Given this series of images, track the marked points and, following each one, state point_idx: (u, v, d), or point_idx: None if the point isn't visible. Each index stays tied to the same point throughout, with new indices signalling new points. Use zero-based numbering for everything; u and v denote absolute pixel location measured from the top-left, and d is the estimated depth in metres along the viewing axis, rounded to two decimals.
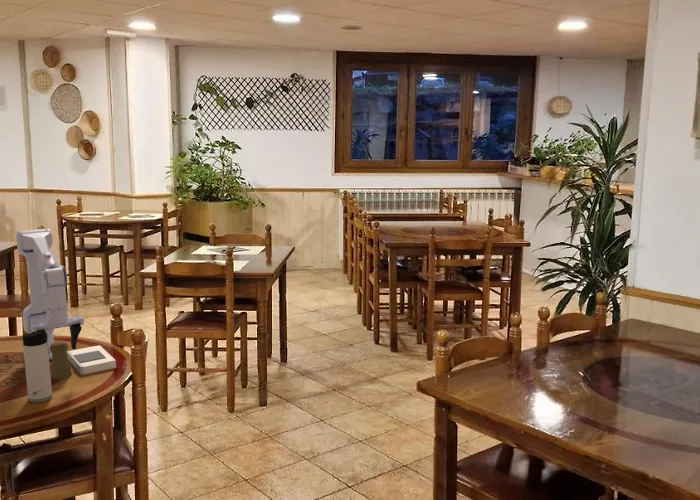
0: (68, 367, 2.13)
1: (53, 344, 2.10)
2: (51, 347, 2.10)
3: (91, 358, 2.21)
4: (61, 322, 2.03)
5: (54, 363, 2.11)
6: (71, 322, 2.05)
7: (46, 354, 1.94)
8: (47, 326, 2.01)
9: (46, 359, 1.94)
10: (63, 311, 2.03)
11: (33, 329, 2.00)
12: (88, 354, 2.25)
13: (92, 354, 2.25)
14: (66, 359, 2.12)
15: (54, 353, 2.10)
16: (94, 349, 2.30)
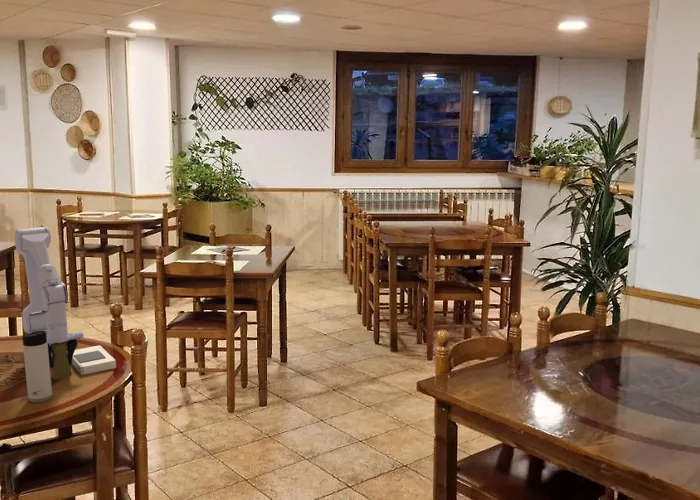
0: (68, 367, 2.13)
1: (53, 344, 2.10)
2: (51, 347, 2.10)
3: (91, 358, 2.21)
4: (61, 337, 2.09)
5: (54, 363, 2.11)
6: (71, 337, 2.12)
7: (46, 354, 1.94)
8: (48, 341, 2.08)
9: (46, 359, 1.94)
10: (63, 327, 2.10)
11: None
12: (88, 354, 2.25)
13: (92, 354, 2.25)
14: (66, 359, 2.12)
15: (54, 353, 2.10)
16: (94, 349, 2.30)
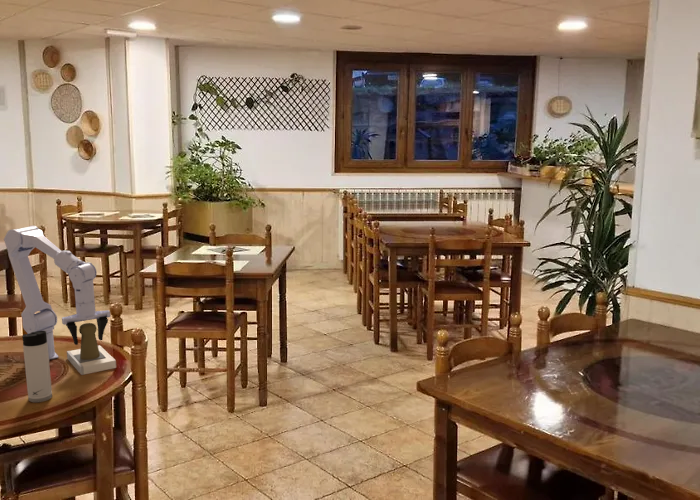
0: (96, 348, 2.22)
1: (82, 326, 2.19)
2: (80, 329, 2.19)
3: None
4: (89, 315, 2.18)
5: (83, 344, 2.20)
6: (98, 315, 2.21)
7: (46, 354, 1.94)
8: (77, 318, 2.17)
9: (46, 359, 1.94)
10: (91, 304, 2.18)
11: (64, 321, 2.16)
12: None
13: None
14: (95, 340, 2.21)
15: (83, 334, 2.19)
16: None
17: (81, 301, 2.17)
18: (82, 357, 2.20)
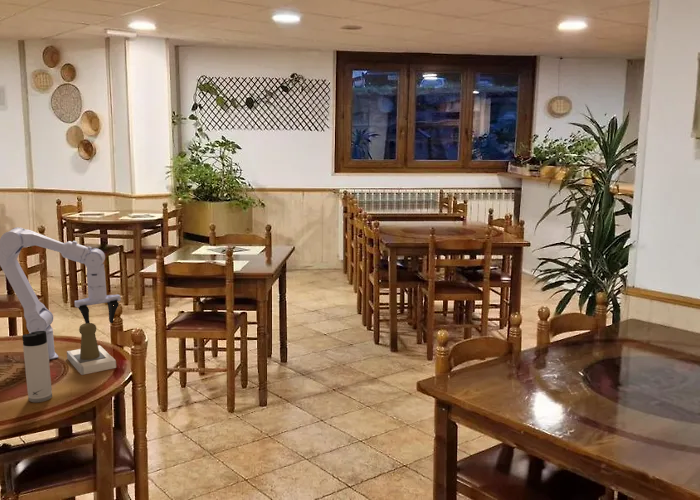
0: (96, 348, 2.22)
1: (82, 326, 2.19)
2: (80, 329, 2.19)
3: None
4: (101, 298, 2.28)
5: (83, 344, 2.20)
6: (109, 298, 2.30)
7: (46, 354, 1.94)
8: (89, 302, 2.26)
9: (46, 359, 1.94)
10: (103, 288, 2.28)
11: (76, 304, 2.25)
12: None
13: None
14: (95, 340, 2.21)
15: (83, 334, 2.19)
16: None
17: (98, 285, 2.26)
18: (82, 357, 2.20)
